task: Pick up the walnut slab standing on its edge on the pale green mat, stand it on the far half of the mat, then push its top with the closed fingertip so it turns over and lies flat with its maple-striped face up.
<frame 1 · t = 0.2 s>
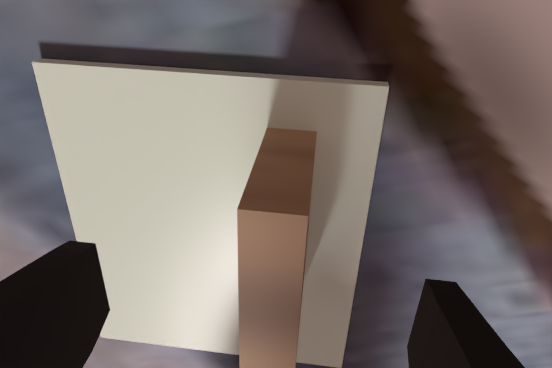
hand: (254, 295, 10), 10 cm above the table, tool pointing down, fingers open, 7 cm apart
walnut slab: (287, 212, 19), point 1 cm above the table, touching mat
mat: (215, 233, 21), on the table
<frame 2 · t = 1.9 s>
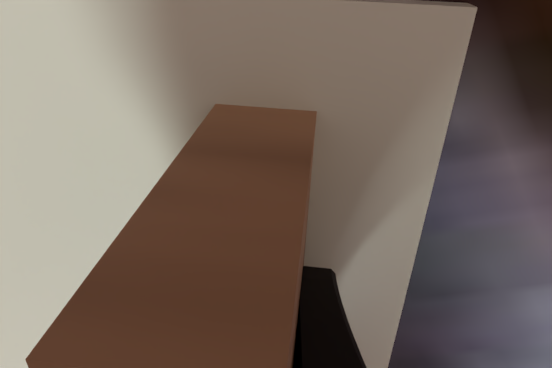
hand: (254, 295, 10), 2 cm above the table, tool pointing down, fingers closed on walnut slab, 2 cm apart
walnut slab: (262, 265, 10), point 1 cm above the table, touching gripper, mat
mat: (141, 292, 12), on the table
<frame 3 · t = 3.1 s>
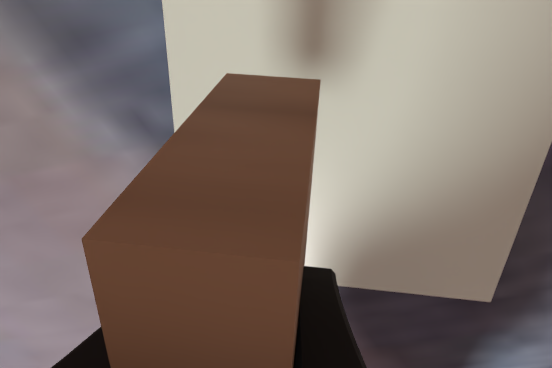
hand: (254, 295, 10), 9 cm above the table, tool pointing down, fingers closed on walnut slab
walnut slab: (268, 231, 11), point 7 cm above the table, touching gripper
mat: (354, 118, 16), on the table
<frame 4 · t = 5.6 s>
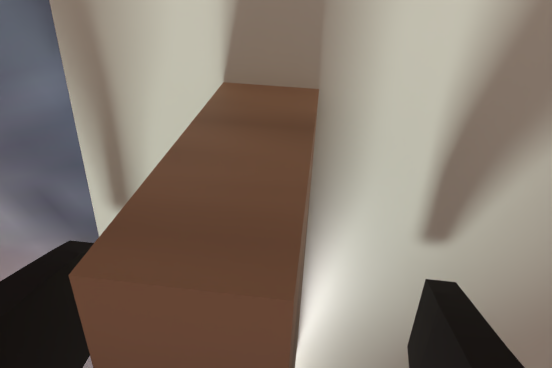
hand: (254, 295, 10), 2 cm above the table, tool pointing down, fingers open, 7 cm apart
walnut slab: (266, 240, 11), point 1 cm above the table, touching mat
mat: (368, 211, 11), on the table
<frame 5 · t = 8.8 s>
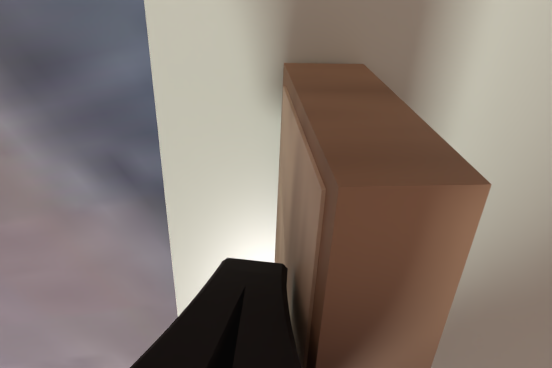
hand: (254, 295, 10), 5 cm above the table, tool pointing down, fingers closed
walnut slab: (311, 201, 13), point 1 cm above the table, tilted 13°, touching mat
mat: (398, 172, 13), on the table
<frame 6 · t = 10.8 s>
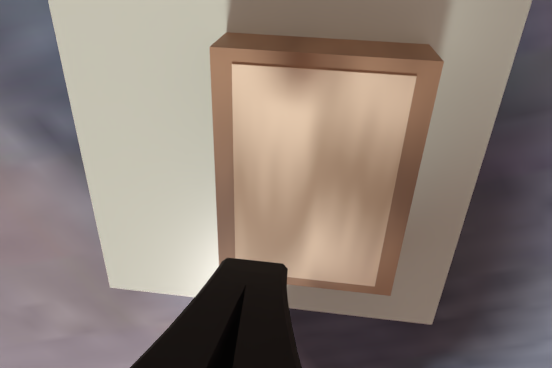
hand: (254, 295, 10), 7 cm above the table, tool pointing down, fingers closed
walnut slab: (222, 164, 14), point 2 cm above the table, tilted 90°, touching mat
mat: (273, 127, 15), on the table
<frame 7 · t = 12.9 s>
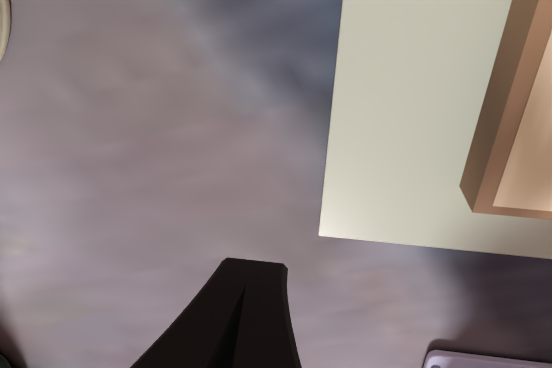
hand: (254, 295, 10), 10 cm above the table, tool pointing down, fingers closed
walnut slab: (494, 101, 15), point 2 cm above the table, tilted 90°, touching mat
mat: (527, 69, 16), on the table
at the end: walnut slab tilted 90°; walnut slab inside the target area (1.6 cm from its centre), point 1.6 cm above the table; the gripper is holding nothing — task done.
